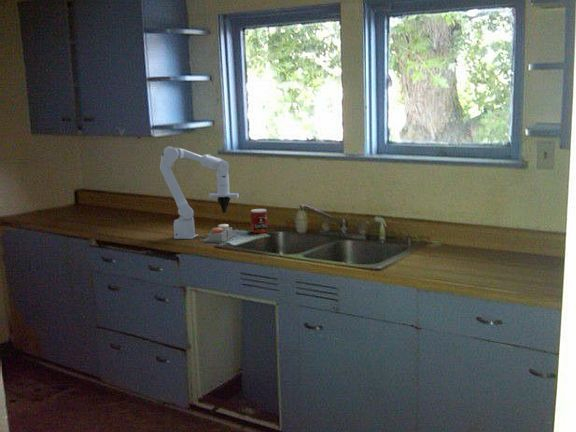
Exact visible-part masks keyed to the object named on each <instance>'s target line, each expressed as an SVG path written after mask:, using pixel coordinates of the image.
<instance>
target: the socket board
mask: <svg viewBox="0 0 576 432" xmlns="http://www.w3.org/2000/svg"><path fill="white" fill-rule="evenodd" d="M207 235H208V236H207V237H208V238H207V239H205V240H204V242H205V243H227V242H228V241H229V239H230V240H231V239H233V238H235V237H236V236H237V233H234V231H233V227H230V226H229V227H228V229H227V230H223V231H222V233H221V234H218V233H213V231H212V230H211V231H210V232H209V233H208V234H207ZM235 235H236V236H235ZM232 237H233V238H232Z"/></svg>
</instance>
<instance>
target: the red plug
mask: <svg viewBox="0 0 576 432" xmlns="http://www.w3.org/2000/svg"><path fill="white" fill-rule="evenodd" d="M212 231H213V233H218V234H221V233H222V231H223V228H218V227H211V232H212Z"/></svg>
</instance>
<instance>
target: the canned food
mask: <svg viewBox="0 0 576 432" xmlns="http://www.w3.org/2000/svg"><path fill="white" fill-rule="evenodd" d="M267 212H268V211H267V209H266V208H255V209H251V210H250V218H251V219H250V221H251V223H250V224H251V232H253V233H252V234H254V233H262V234H265V233H264V232H266V233H267V232H268V217H267V216H268V213H267Z"/></svg>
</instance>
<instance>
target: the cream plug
mask: <svg viewBox="0 0 576 432" xmlns="http://www.w3.org/2000/svg"><path fill="white" fill-rule="evenodd" d="M228 227H230V225H229V224H227V223H221V224H217V228H223V230H227V229H228Z"/></svg>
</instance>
